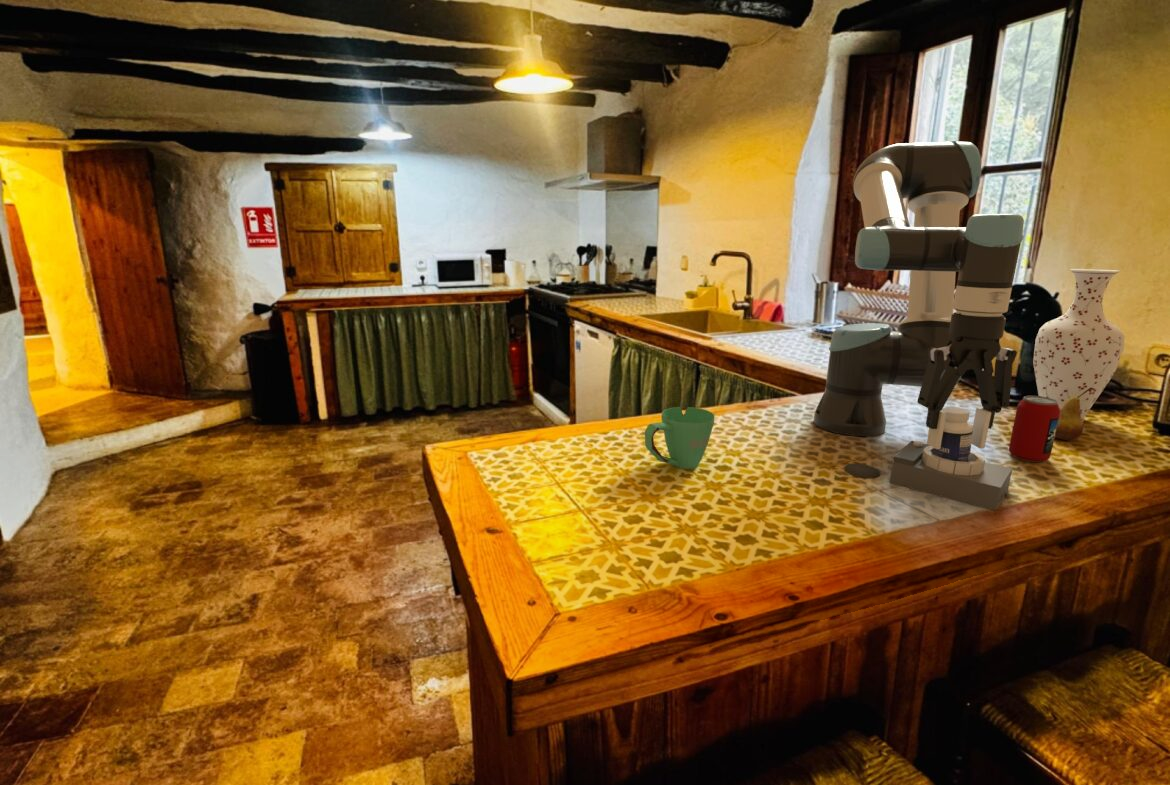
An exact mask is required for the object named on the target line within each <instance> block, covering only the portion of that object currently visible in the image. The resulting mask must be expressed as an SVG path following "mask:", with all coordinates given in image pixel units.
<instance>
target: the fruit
mask: <svg viewBox="0 0 1170 785" xmlns="http://www.w3.org/2000/svg"><path fill="white" fill-rule="evenodd" d="M1091 389H1093V388H1092V387H1091V388H1089V389H1087V390H1086V391H1085V392H1084V393H1082V394H1081V395H1079V396H1078V397H1076V396H1074V397H1072V398H1070V399H1069V400H1068V401H1067V402H1066V403H1065V404H1064V406H1063V407H1062V408H1061V410H1060V415H1059V420H1058V425H1057V429H1056V434H1055V439H1059V440H1063V441H1067V442H1069V441H1070V442H1071V441H1074V440H1076V439H1079V437H1081V435H1082V434H1083V432H1084V428H1085V427H1084V425H1085V424H1084V421H1082V418H1081V416H1080V399H1079V397H1080V396H1082V395H1083V394H1085V393H1086V392H1087V391H1089V390H1091Z"/></svg>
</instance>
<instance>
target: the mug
mask: <svg viewBox="0 0 1170 785" xmlns="http://www.w3.org/2000/svg"><path fill="white" fill-rule="evenodd" d="M714 425H715V414H714V413H713V412H712V411H710V410H708V409H707V410H706V409H703V408H699V407H693V406H692V407H690V406H687V407H686V410H685V412H684V413H683V410H682V407H681V406H676V407H670V408H666V409H664V410H663V411H662V412H661V422H652V423H649V424H648V425H647V427H646V429H645V430H644V443H645V444H644V445H645V448H646V449H647V450H648V451H649V452H650V454H652V456H654V458H655V459H657V461H659V462H662V463H665V464H670V465H673V466H674V467H676V468H678V469H682V470H693V469H695V468H696V469H697V468H698V466H699V465H700V463H701V461H702V459H703V457H704V454H705V453H706V449H707V446H708V445H709V442H710V437H711V435H712V430H713V428H714ZM659 431H663V435H664V440H665V441H664V442H665V444H666V448H667V452H668V455H669V457H668V456H666V455H665V456H664V455H662V454H661V453H660V451H659V449H658V448H657V447H656V445H655V441H654V436H655V434H656V432H659Z"/></svg>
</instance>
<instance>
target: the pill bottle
mask: <svg viewBox="0 0 1170 785" xmlns="http://www.w3.org/2000/svg"><path fill="white" fill-rule="evenodd" d="M942 410H943V411H945V412H947V413H946V418H945V424H944V430H943V436H942V441H941V447H940V449H935V448H934V453H933V454H934V455H936V456H938V457H941V458H944V459H948V460H953V461H961V462H969V459H970V450H971V448H972V444H971V441H972V433H973V424H971V423H970V422H969V419H970V410H968V409H966V408H963V407H955V406H949V407H947V406H946V407H943V409H942ZM971 451H972V450H971Z"/></svg>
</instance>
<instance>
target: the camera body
mask: <svg viewBox="0 0 1170 785" xmlns="http://www.w3.org/2000/svg"><path fill="white" fill-rule="evenodd" d="M933 453H934V447H932V446H930V445H928V444H927V443H924V442H922V441H918V440H914V441H913V440H911V441H910V442H909V443H908V444H906V445H905V446H904V447H903V448H902V449H901V450H899V451H898V452H897V453H896V454H895V455H894V456H893V459H892V465H891V466H892V467H891V471H890V479H889V483H890V484H894V485H897V486H901V487H905V488H908V489H912V490H916V491H920V492H923V493H927V494H932V495H935V496H939V497H943V498H946V499H951V500H955V501H959V502H961V503H966V504H970V505H973V506H977V507H981V508H983V509H984V508H985V509H989V510H993V511H995V512H996V511H997V509H998V508H999V506H1000V504H1001V502H1002V501H1003V499H1004V497H1005V496H1006V494H1007V492H1008V491H1009V487H1010V482H1011V478H1012V472H1013V468H1012V467H1010V466H1009V467H1008V466H1003V465H999V464H995V463H990V462H986V458H985V457H984V456H983V455H982V454H981V453H978V452H976V451H974V450H970V459H969V462H961V461H953V460H948V459H944V458H941V457H938V456H936V455H934V454H933Z"/></svg>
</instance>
